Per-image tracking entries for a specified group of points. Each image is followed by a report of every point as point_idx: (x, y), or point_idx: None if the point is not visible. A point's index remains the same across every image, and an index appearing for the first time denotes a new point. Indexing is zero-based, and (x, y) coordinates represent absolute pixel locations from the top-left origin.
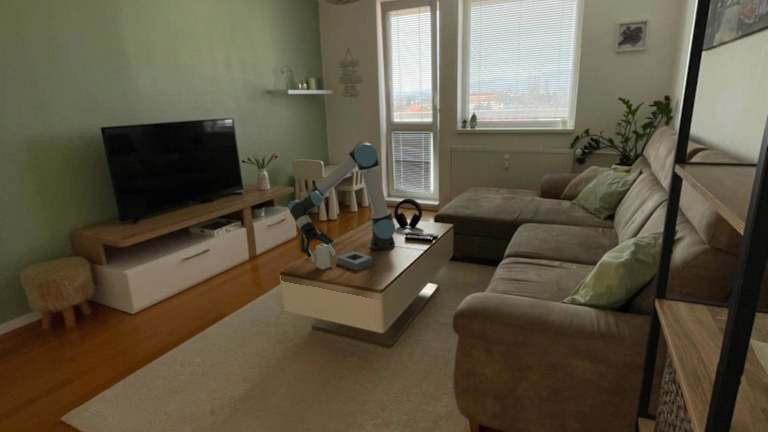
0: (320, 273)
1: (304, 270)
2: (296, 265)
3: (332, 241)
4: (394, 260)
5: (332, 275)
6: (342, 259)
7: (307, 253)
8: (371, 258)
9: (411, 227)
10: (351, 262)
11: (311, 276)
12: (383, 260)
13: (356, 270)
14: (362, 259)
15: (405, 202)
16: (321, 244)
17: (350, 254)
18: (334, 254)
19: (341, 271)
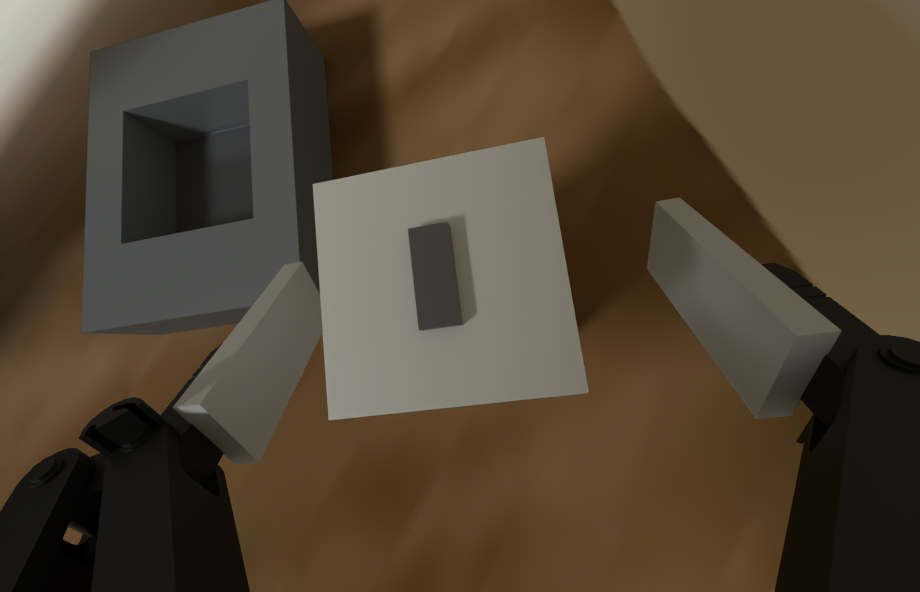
0: (596, 187)
1: (699, 366)
2: (713, 582)
3: (80, 451)
4: (20, 79)
5: (531, 83)
6: (301, 200)
7: (834, 309)
8: (112, 50)
9: None
10: (291, 67)
11: (709, 173)
12: (62, 125)
13: (322, 58)
14: (179, 61)
15: None
16: (398, 378)
17: (163, 256)
18: (310, 285)
19: (421, 117)
